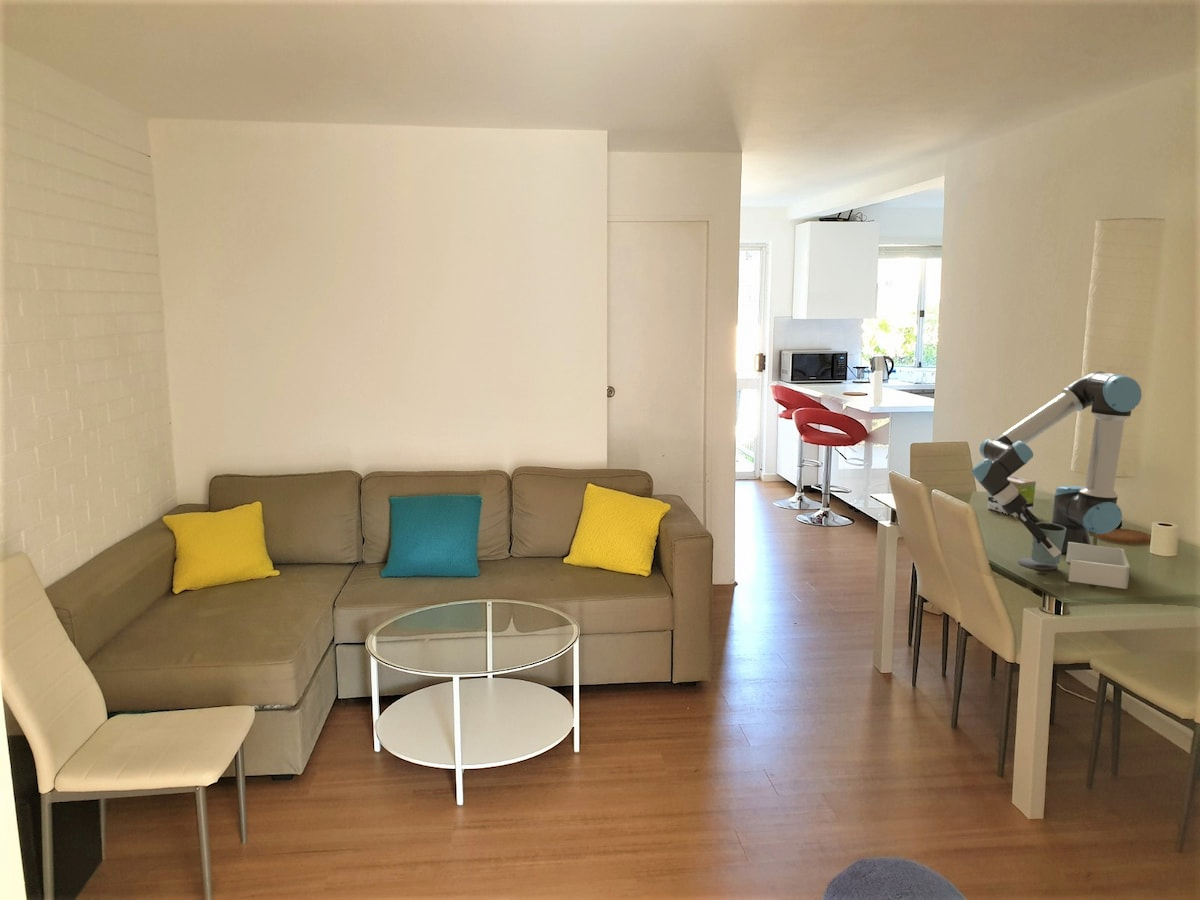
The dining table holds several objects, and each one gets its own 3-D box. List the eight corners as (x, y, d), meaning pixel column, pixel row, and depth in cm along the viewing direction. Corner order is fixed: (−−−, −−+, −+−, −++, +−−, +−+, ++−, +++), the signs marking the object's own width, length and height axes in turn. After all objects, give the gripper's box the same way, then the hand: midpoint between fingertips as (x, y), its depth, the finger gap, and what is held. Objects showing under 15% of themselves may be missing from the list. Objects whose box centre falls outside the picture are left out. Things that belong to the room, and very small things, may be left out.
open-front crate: (1065, 561, 303) (1068, 541, 301) (1120, 568, 296) (1123, 548, 294) (1068, 581, 282) (1071, 560, 281) (1127, 589, 275) (1130, 567, 274)
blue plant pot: (1055, 556, 299) (1059, 522, 297) (1067, 566, 289) (1072, 531, 287) (1024, 555, 300) (1028, 521, 298) (1035, 564, 290) (1039, 529, 288)
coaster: (1018, 557, 307) (1018, 555, 307) (1056, 562, 302) (1056, 560, 302) (1017, 566, 296) (1017, 565, 296) (1057, 572, 291) (1057, 570, 291)
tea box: (986, 509, 373) (989, 475, 370) (1003, 506, 377) (1006, 473, 375) (1016, 517, 360) (1019, 482, 357) (1033, 515, 364) (1036, 480, 361)
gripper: (1001, 498, 308) (1046, 548, 304) (1000, 513, 288) (1048, 566, 284) (1019, 485, 304) (1065, 535, 301) (1019, 499, 284) (1068, 553, 281)
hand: (1057, 550), depth 292 cm, fingers closed on blue plant pot, 10 cm apart
